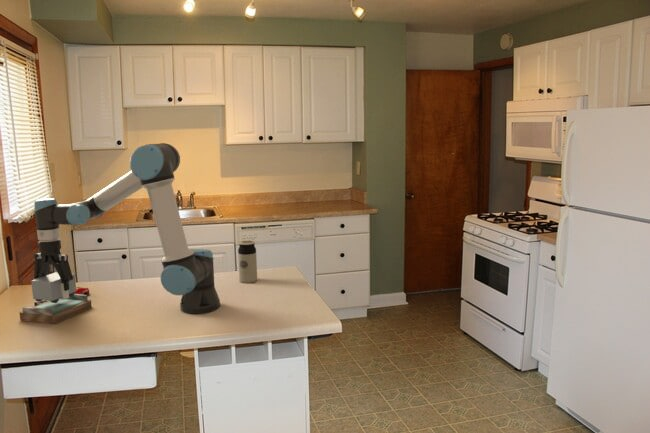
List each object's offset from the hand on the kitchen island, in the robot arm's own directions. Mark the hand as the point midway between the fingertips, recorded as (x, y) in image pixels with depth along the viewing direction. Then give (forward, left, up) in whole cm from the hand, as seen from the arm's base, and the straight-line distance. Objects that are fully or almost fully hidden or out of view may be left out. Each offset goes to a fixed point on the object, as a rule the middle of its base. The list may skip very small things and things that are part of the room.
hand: (55, 297), depth 210 cm
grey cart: (0, 0, 0) cm, 0 cm away
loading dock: (0, 0, -6) cm, 6 cm away
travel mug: (-52, -59, -7) cm, 79 cm away
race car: (+8, -18, -7) cm, 21 cm away
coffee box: (+21, -22, -7) cm, 31 cm away
